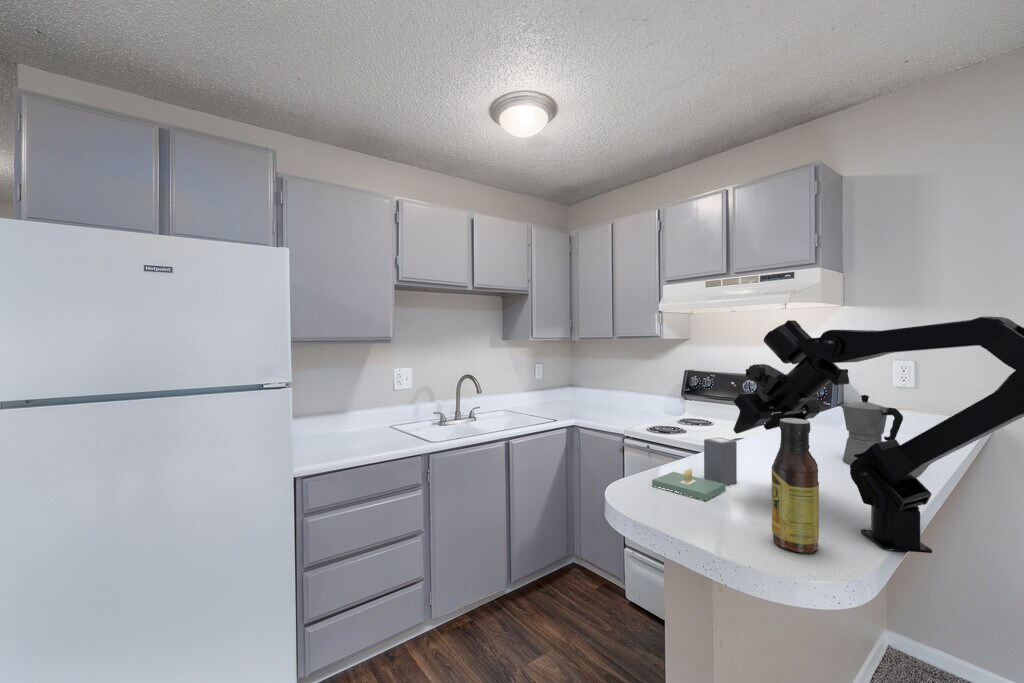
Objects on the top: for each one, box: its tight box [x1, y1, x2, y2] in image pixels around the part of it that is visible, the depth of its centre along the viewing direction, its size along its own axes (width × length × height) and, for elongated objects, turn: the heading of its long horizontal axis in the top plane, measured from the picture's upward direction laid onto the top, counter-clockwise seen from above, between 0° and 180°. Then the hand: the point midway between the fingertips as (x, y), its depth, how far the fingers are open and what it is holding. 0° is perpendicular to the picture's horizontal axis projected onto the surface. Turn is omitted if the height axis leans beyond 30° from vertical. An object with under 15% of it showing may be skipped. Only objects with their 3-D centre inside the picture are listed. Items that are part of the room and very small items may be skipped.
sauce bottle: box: [771, 418, 820, 554], centre depth 69 cm, size 6×6×20 cm
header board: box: [651, 468, 727, 502], centre depth 96 cm, size 12×9×4 cm
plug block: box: [703, 437, 738, 486], centre depth 100 cm, size 4×5×10 cm
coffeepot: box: [839, 394, 904, 466], centre depth 113 cm, size 15×9×18 cm, turn 14°
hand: (750, 429), depth 93 cm, fingers open, 9 cm apart
